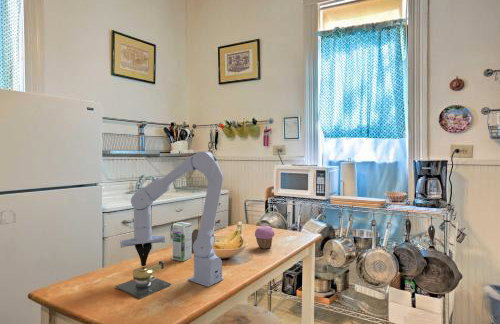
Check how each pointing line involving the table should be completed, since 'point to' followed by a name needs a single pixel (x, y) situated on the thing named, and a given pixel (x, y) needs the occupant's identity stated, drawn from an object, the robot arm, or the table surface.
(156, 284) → the dark grey plate
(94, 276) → the table surface
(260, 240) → the cupcake
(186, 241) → the syrup box
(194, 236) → the vase
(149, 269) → the brass lever handle
